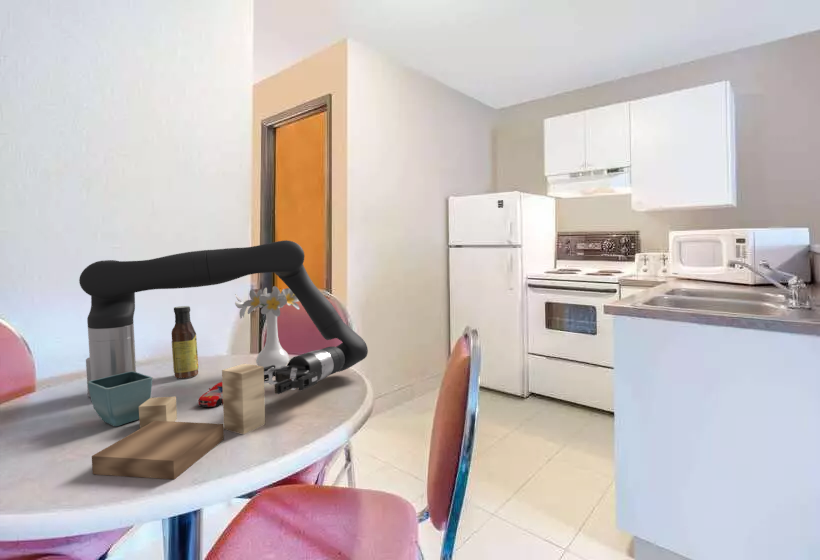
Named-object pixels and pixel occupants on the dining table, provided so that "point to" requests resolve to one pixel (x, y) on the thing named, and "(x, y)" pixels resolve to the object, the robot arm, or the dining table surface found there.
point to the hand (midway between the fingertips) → (260, 386)
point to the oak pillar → (243, 398)
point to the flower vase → (270, 322)
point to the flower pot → (120, 396)
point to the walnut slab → (158, 450)
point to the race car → (212, 397)
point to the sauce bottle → (184, 344)
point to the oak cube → (157, 410)
